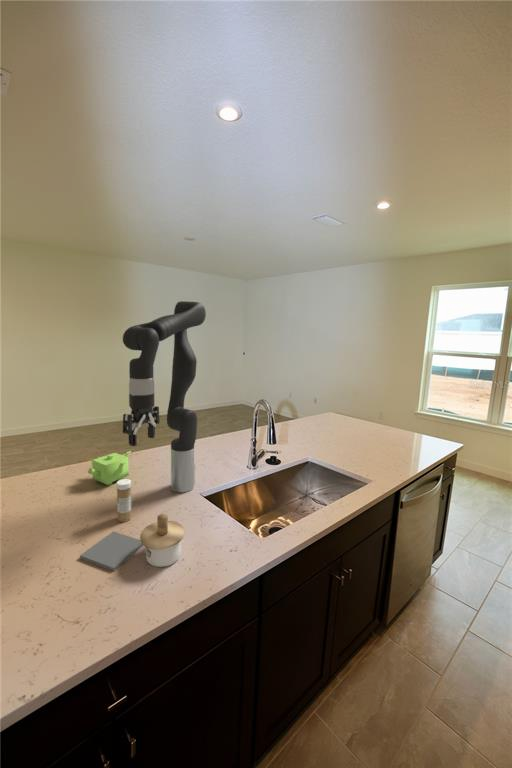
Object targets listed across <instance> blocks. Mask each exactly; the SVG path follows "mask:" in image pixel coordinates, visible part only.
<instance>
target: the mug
mask: <svg viewBox="0 0 512 768" xmlns="http://www.w3.org/2000/svg"><path fill="white" fill-rule="evenodd" d="M145 552H146V553H145V554H146V555H145V558H146V561H147V563H148V564H149V565H150V566H153V567H156V568H165V567H168V566H171V565H173V564H175V563H176V562H177V561H178V560H179V559H180V558H181V556H182V544H181V541H180V542H179V543H177V544H176V545H174V546H172V547H169V548H166V549H150V548H147V547H146V551H145Z"/></svg>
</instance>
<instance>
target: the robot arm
mask: <svg viewBox="0 0 512 768" xmlns="http://www.w3.org/2000/svg"><path fill="white" fill-rule="evenodd" d="M205 320H206V308H205V305H204V304H202V303H200V302H198V301H185V300H184V301H178V302H177V303H175V306H174V310H173V314H169V315H164V316H161V317H158V318H155V319H154V320H152V321H149V322H145V323H140V324H137V325H133V326H130V327H128V328H127V329H126V330H125V331H124V333H123V335H122V343H123V345H124V346H125V347H126V348H127V349H129V350H131V351H141V352H140V355H139V357H135V358H132V359H131V360H130V361H129V371H128V372H129V374H128V375H129V382H128V405H129V408H130V409H131V412H130V413H123V414H122V433H123V434H127V435H128V444H129V446H131V447H135V446H138V445H137V444H138V443H137V442H138V441H137V437H138V436H137V432H138V430H139V429H140V428H141V427H142V425H144V424H147V438H148V439H149V438H150V439H155V435H156V427H157V425H158V424H160V422H161V421H160V407H159V406H157V405H155V381H154V363H155V360H156V356H157V352H158V350H159V349H158V348H159V346H160V342H162V341H164V340H166V339H168V338H170V337H171V336H173V337H174V340H173V355H172V356H173V358H172V367H171V369H172V370H171V385H170V395H169V396H170V397H169V400H168V401H169V402H168V406H167V413H166V423H167V424H166V425H167V427H168V428H169V429H171V430H173V431H177V432H179V436H178V437H177V438H176V437H175V438H174V439H172V440H171V443H170V489H171V491H173V492H175V493H188V492H190V491H192V490H193V489H194V487H195V486H194V485H196V484H195V480H196V479H195V478H196V477H195V473H196V471H195V470H196V465H195V464H196V463H195V443H196V441H197V431H198V429H197V428H198V417H197V416H198V415H197V413H196V412H195V411H194V410H192V409H189V408H185V400H186V399H185V398H186V395H187V392H188V390H189V388H190V387H191V386H192V384H193V382H194V381H195V378H196V374H197V362H198V361H197V357H196V355H195V352H194V350H193V348H192V346H191V344H190V342H189V339H188V331H187V330H188V329H190V328H194V327H198V326H201V325H202V324H203V323H204V322H205Z"/></svg>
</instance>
